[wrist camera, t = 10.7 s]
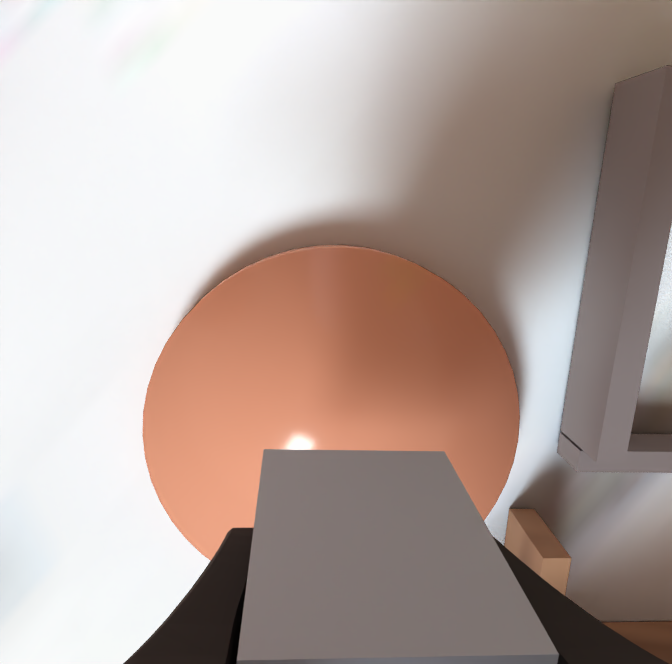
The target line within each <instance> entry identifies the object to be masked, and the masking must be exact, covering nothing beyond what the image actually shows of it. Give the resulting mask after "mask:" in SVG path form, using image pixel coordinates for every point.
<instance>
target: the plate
mask: <svg viewBox="0 0 672 664" xmlns="http://www.w3.org/2000/svg"><path fill="white" fill-rule="evenodd" d="M519 420H520V415H519V400H518V392H517V387H516V383H515V378H514V373H513V370H512V368H511V365H510V362H509V359H508V357H507V354H506V351H505V349H504V348H503V346H502V344H501V342H500V340H499V338H498V336H497V335H496V333H495V331H494V329H493V328H492V327H491V325H490V324H489V323H488V321H487V320H486V319H485V317H484V316H483V315H482V313H481V312H480V311H479V310H478V309H477V308H476V307H475V306H474V305H473V304H472V303H471V302H470V301H469V300H468V299H467V298H466V297H465V296H464V295H463V294H462V293H461V292H460V291H458V290H457V289H456V288H454V287H453V286H452V285H450V284H449V283H448V282H446V281H445V280H444V279H442V278H441V277H439V276H437V275H435V274H433V273H432V272H430V271H428V270H426V269H425V268H423V267H421V266H419V265H417V264H416V263H414V262H412V261H409V260H406V259H404V258H401V257H399V256H396V255H394V254H391V253H387V252H383V251H379V250H375V249H371V248H367V247H358V246H349V245H316V246H310V247H304V248H297V249H292V250H288V251H285V252H281V253H278V254H275V255H271V256H268V257H266V258H263V259H261V260H259V261H257V262H255V263H252V264H250V265H248V266H246V267H244V268H242V269H241V270H239V271H237V272H236V273H234V274H233V275H231V276H229V277H228V278H226V279H224V280H223V281H222V282H221V283H219V284H218V285H217V286H216V287H215V288H213V289H212V290H211V291H210V292H208V293H207V294H206V295H205V296H204V297H203V298H202V299H201V300H200V301H199V302H198V303H197V305H196V306H195V307H194V308H193V309H192V310H191V311H190V312H189V313H188V314H187V315H186V316H185V318H184V319H183V320H182V321H181V322H180V324H179V325H178V326H177V328H176V329H175V331H174V332H173V334H172V335H171V337H170V338H169V339H168V341H167V342H166V344H165V346H164V348H163V350H162V352H161V354H160V356H159V358H158V360H157V362H156V364H155V367H154V370H153V373H152V376H151V379H150V382H149V385H148V388H147V394H146V400H145V405H144V411H143V442H144V451H145V459H146V463H147V466H148V470H149V474H150V478H151V481H152V484H153V486H154V488H155V491H156V493H157V495H158V498H159V500H160V502H161V504H162V506H163V507H164V509H165V511H166V512H167V514H168V516H169V517H170V519H171V521H172V522H173V523H174V524H175V526H176V527H177V528H178V529H179V531H180V532H181V533H182V534H183V536H184V537H185V538H186V539H187V540H188V541H189V542H190V543H191V544H192V545H193V546H194V547H195V548H196V549H197V550H198V551H199V552H200V553H201V554H203V555H204V556H205V557H207V558H208V559H209V560H212V558H213V557H214V555H215V554H216V552H217V550H218V549H219V547H220V545H221V544H222V542H223V540H224V538H225V536H226V534H227V532H228V531H229V530H231V529H232V528H254V521H255V513H256V506H257V498H258V490H259V482H260V474H261V466H262V458H263V451H264V449H293V450H376V451H444V452H445V453H446V455H447V457H448V459H449V461H450V462H451V464H452V466H453V468H454V469H455V471H456V473H457V475H458V476H459V478H460V480H461V482H462V484H463V485H464V487H465V489H466V491H467V492H468V494H469V496H470V498H471V499H472V501H473V503H474V505H475V507H476V508H477V510H478V512H479V514H480V515H481V517H482V519H483V521H484V520H485V519H486V517H487V516H488V514H489V513H490V511H491V510H492V508H493V507H494V505H495V504H496V502H497V500H498V498H499V496H500V494H501V492H502V490H503V488H504V486H505V484H506V482H507V479H508V476H509V473H510V471H511V468H512V465H513V462H514V457H515V453H516V448H517V443H518V435H519Z"/></svg>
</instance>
